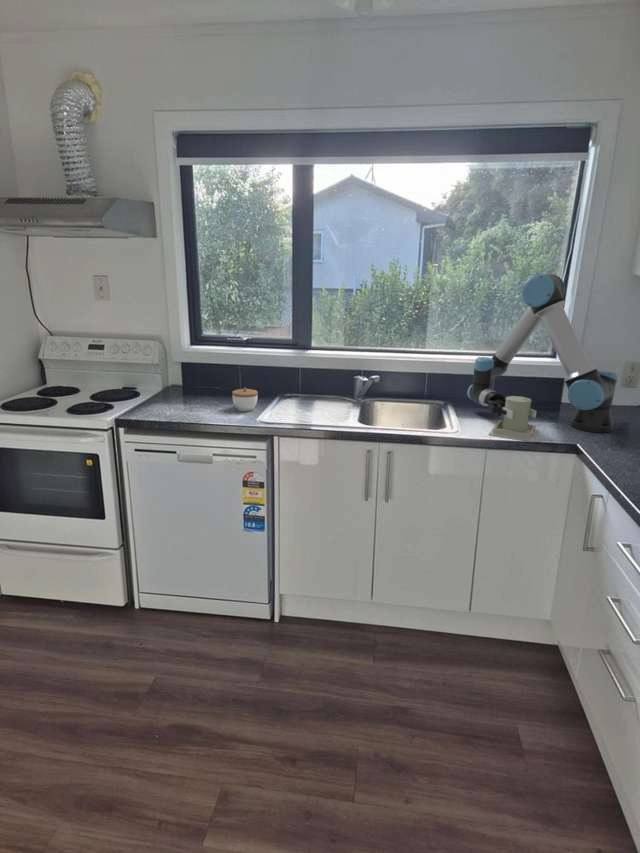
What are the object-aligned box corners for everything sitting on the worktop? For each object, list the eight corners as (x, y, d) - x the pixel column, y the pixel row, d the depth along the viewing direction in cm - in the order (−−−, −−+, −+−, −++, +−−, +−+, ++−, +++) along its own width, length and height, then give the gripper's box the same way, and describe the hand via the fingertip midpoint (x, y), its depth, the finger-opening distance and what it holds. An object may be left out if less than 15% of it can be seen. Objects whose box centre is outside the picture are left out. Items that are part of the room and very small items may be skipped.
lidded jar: (227, 408, 230) (227, 387, 227) (248, 405, 237) (248, 384, 234) (241, 414, 223) (241, 392, 220) (262, 410, 230) (262, 388, 227)
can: (526, 433, 200) (530, 401, 196) (500, 429, 203) (504, 398, 200) (528, 426, 208) (532, 396, 204) (503, 423, 211) (507, 393, 208)
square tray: (496, 424, 216) (497, 418, 216) (538, 431, 209) (539, 424, 209) (488, 435, 203) (489, 428, 202) (533, 442, 196) (534, 435, 195)
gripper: (514, 408, 224) (548, 423, 203) (467, 409, 219) (496, 425, 198) (517, 390, 222) (551, 404, 201) (469, 391, 217) (498, 406, 196)
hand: (523, 415), depth 199 cm, fingers closed on can, 9 cm apart
